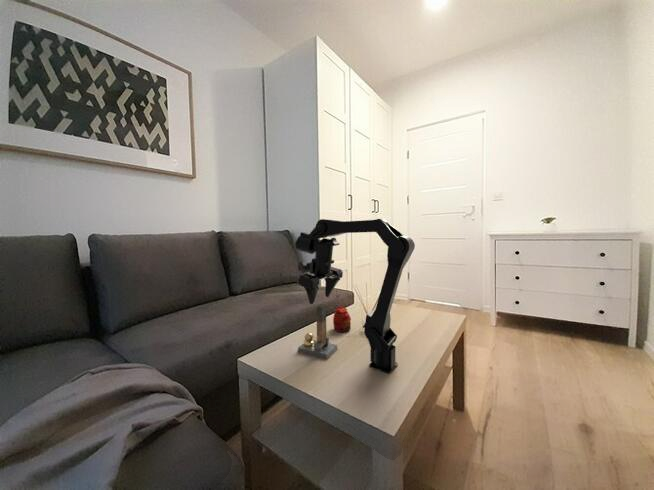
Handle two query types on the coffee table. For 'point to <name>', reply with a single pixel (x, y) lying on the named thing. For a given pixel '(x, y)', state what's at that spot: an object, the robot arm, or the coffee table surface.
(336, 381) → the coffee table surface
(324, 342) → the lever
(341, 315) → the decorative doll
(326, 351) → the base
